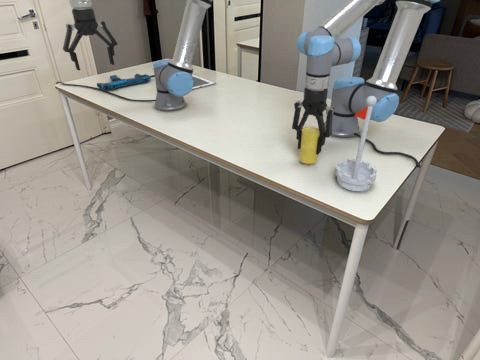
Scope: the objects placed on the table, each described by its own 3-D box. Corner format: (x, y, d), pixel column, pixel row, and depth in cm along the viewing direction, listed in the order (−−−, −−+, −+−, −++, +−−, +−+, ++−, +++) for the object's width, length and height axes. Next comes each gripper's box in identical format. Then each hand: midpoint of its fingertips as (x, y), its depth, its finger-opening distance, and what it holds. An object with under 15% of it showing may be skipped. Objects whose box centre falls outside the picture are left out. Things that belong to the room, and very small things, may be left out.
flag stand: (357, 168, 122) (375, 86, 106) (382, 188, 112) (406, 100, 96) (326, 176, 118) (340, 91, 102) (349, 196, 108) (368, 106, 92)
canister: (317, 155, 127) (321, 127, 120) (316, 164, 121) (320, 135, 115) (299, 154, 128) (302, 126, 121) (298, 162, 122) (301, 134, 116)
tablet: (159, 78, 216) (159, 77, 215) (186, 72, 227) (186, 71, 226) (187, 90, 195) (187, 90, 195) (215, 83, 206) (215, 82, 206)
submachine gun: (141, 68, 225) (159, 74, 208) (142, 74, 227) (160, 80, 210) (89, 78, 206) (104, 86, 190) (91, 84, 208) (106, 92, 192)
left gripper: (48, 12, 116) (65, 74, 128) (119, 6, 129) (129, 63, 140) (43, 9, 121) (60, 70, 133) (111, 4, 134) (122, 60, 145)
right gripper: (284, 85, 112) (280, 147, 124) (341, 96, 102) (331, 162, 115) (294, 79, 117) (289, 139, 130) (349, 89, 108) (338, 153, 120)
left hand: (95, 66), depth 137 cm, fingers open, 13 cm apart
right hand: (309, 150), depth 122 cm, fingers closed on canister, 6 cm apart
